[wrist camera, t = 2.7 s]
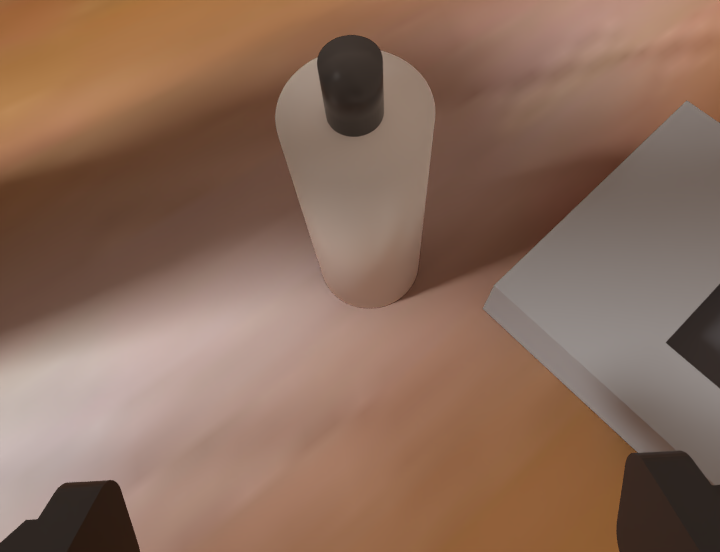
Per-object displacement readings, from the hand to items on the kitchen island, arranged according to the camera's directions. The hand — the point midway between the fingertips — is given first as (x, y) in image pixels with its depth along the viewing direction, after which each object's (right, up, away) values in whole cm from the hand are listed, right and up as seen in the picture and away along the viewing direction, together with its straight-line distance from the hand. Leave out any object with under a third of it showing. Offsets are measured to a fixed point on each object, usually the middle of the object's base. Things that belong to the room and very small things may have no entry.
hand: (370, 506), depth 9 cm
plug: (0, +4, +17) cm, 17 cm away
